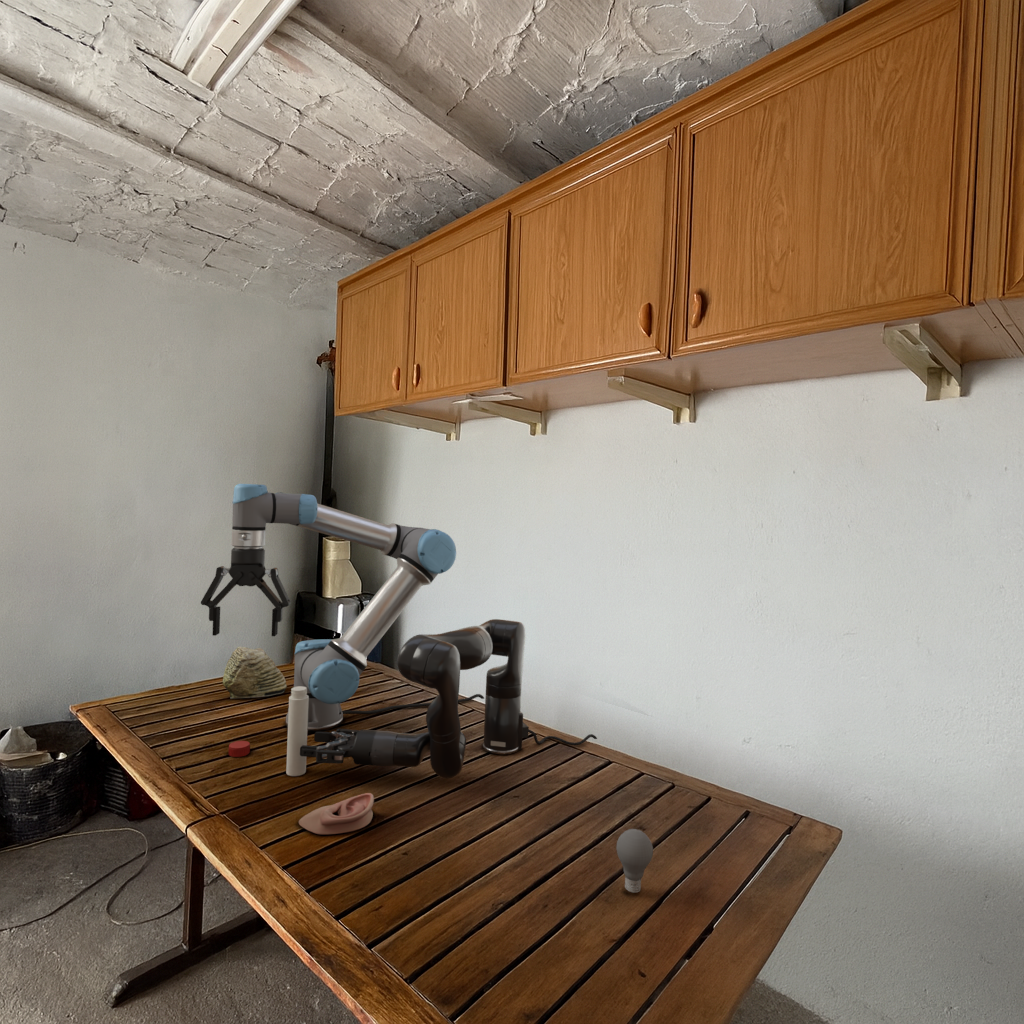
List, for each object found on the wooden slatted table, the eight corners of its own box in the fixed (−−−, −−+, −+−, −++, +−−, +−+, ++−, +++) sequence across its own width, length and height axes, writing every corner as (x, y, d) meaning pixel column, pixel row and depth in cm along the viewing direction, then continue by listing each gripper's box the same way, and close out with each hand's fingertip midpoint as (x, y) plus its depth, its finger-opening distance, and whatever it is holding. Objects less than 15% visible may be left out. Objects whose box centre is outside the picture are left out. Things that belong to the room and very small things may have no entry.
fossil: (218, 695, 195) (220, 647, 195) (278, 685, 208) (279, 640, 207) (228, 703, 189) (230, 653, 188) (289, 692, 201) (290, 645, 201)
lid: (232, 758, 151) (232, 749, 151) (225, 752, 154) (225, 743, 154) (252, 754, 154) (253, 745, 154) (245, 747, 157) (246, 739, 157)
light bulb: (610, 879, 108) (613, 822, 108) (644, 879, 109) (647, 822, 109) (619, 902, 102) (622, 840, 102) (655, 901, 103) (658, 840, 103)
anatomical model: (290, 809, 120) (320, 783, 131) (289, 830, 120) (320, 802, 131) (355, 819, 117) (381, 791, 128) (355, 840, 117) (380, 811, 128)
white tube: (304, 767, 148) (307, 684, 147) (306, 774, 144) (310, 690, 144) (285, 769, 146) (288, 686, 146) (287, 777, 142) (290, 691, 142)
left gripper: (188, 547, 148) (185, 637, 148) (298, 550, 151) (295, 638, 152) (199, 544, 155) (196, 630, 156) (304, 547, 159) (301, 632, 159)
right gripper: (386, 720, 151) (319, 716, 152) (369, 743, 137) (296, 738, 138) (384, 752, 151) (318, 747, 152) (367, 777, 137) (294, 772, 138)
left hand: (245, 634), depth 154 cm, fingers open, 13 cm apart
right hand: (307, 743), depth 145 cm, fingers open, 8 cm apart
